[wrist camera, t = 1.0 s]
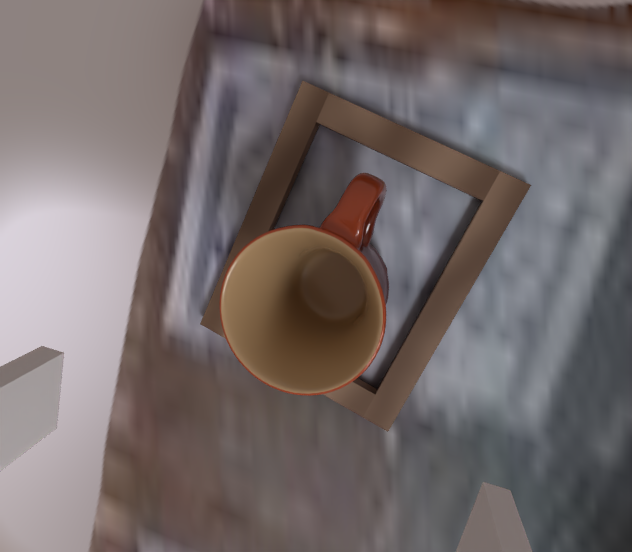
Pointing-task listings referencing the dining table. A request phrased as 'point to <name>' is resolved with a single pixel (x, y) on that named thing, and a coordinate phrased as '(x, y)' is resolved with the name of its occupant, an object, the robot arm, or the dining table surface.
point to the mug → (310, 298)
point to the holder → (420, 154)
